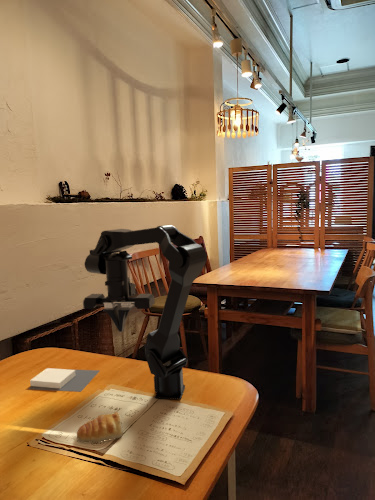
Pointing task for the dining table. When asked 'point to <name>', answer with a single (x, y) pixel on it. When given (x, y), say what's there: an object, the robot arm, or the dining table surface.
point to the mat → (74, 381)
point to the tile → (53, 378)
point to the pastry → (101, 428)
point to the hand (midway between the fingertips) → (121, 331)
